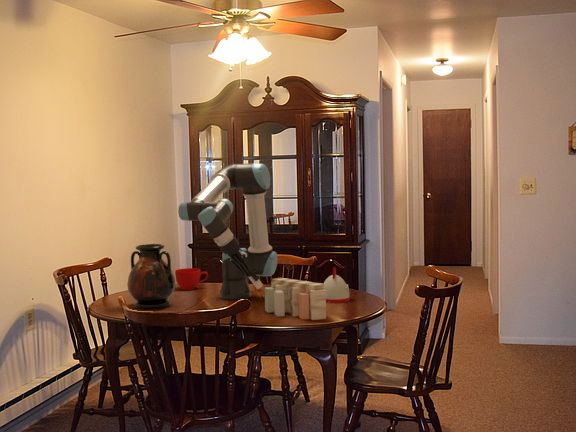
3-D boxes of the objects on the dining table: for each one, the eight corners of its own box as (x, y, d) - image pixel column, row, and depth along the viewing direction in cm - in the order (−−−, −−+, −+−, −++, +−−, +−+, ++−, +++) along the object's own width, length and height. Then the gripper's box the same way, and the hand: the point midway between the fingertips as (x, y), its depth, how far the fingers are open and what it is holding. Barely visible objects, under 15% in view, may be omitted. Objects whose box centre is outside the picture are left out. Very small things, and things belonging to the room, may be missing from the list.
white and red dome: (350, 297, 322) (350, 265, 321) (348, 303, 309) (348, 270, 308) (321, 297, 325) (320, 265, 324) (318, 302, 311) (317, 270, 310)
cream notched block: (264, 311, 296) (263, 279, 295) (280, 307, 303) (279, 276, 302) (317, 321, 274) (316, 287, 273) (333, 317, 280) (332, 283, 279)
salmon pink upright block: (298, 317, 282) (298, 293, 281) (305, 316, 282) (305, 292, 282) (302, 319, 277) (301, 295, 276) (309, 318, 278) (308, 294, 277)
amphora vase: (183, 301, 321) (180, 242, 319) (165, 311, 300) (163, 248, 298) (140, 301, 325) (137, 242, 323) (120, 310, 304) (117, 248, 302)
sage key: (265, 310, 296) (264, 287, 296) (271, 309, 297) (271, 287, 296) (267, 312, 291) (267, 289, 291) (274, 312, 292) (274, 288, 292)
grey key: (274, 314, 288) (274, 290, 287) (281, 313, 289) (280, 290, 288) (277, 316, 283) (277, 292, 283) (284, 316, 284) (284, 292, 283)
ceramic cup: (206, 291, 348) (206, 271, 347) (173, 291, 348) (173, 272, 347) (210, 286, 361) (209, 267, 360) (178, 287, 361) (177, 268, 360)
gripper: (212, 249, 277) (245, 294, 282) (229, 244, 266) (263, 291, 272) (224, 238, 281) (257, 282, 286) (241, 233, 270) (274, 279, 276)
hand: (260, 286), depth 279 cm, fingers closed
